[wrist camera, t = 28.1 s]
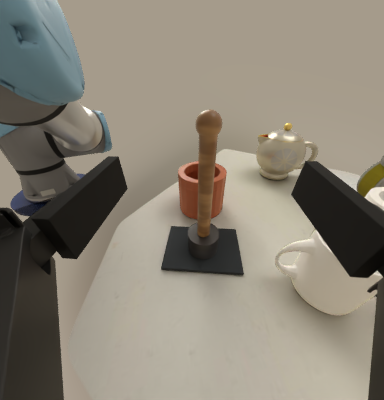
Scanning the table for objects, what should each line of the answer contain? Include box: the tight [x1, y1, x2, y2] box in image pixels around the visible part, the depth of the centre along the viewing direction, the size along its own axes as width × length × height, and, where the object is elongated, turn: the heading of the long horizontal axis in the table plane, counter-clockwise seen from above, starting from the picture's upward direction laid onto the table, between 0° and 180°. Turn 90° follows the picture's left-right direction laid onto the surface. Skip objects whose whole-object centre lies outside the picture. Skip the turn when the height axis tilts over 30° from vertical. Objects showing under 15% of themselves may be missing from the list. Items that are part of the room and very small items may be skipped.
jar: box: [178, 161, 227, 219], centre depth 40 cm, size 11×11×10 cm
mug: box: [275, 229, 383, 316], centre depth 23 cm, size 9×12×11 cm
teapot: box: [256, 123, 318, 180], centre depth 51 cm, size 18×14×16 cm
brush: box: [188, 110, 222, 259], centre depth 25 cm, size 6×6×24 cm
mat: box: [161, 226, 244, 275], centre depth 32 cm, size 14×10×1 cm
